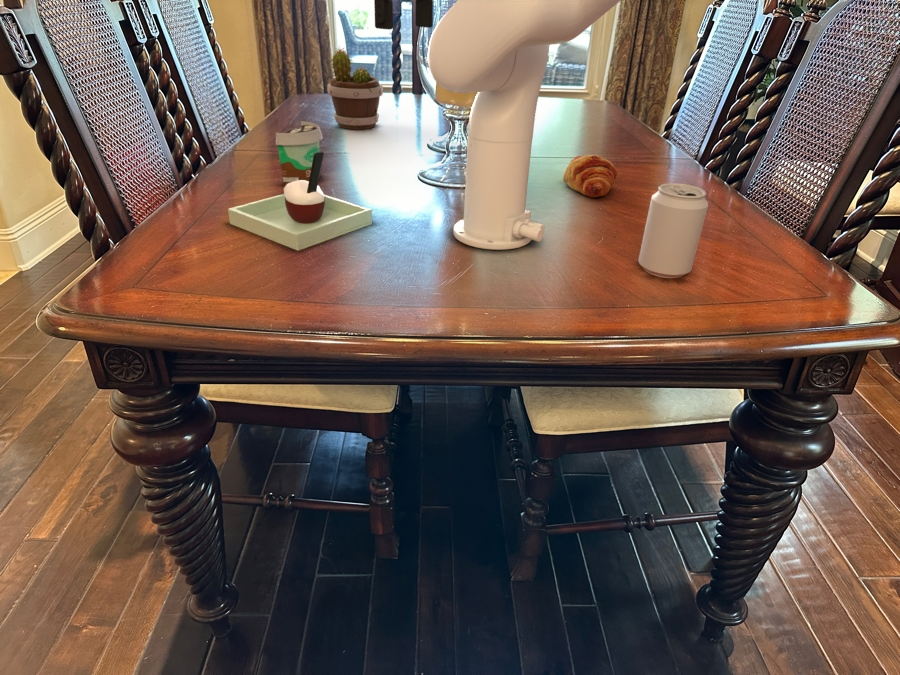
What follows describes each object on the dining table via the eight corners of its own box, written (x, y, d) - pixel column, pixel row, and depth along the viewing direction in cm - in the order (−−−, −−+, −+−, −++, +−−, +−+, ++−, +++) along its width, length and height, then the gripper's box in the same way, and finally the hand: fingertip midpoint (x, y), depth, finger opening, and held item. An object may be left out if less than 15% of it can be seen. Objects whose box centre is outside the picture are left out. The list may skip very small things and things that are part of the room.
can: (660, 283, 84) (680, 199, 78) (626, 263, 90) (642, 182, 84) (702, 276, 87) (724, 193, 81) (666, 256, 93) (684, 178, 87)
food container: (310, 190, 114) (306, 136, 109) (280, 187, 115) (274, 133, 110) (334, 173, 125) (331, 122, 120) (306, 170, 126) (302, 120, 121)
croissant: (564, 187, 134) (551, 154, 130) (608, 168, 131) (596, 133, 128) (581, 218, 115) (566, 180, 112) (632, 195, 113) (618, 156, 109)
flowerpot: (385, 121, 172) (383, 42, 162) (382, 132, 159) (380, 48, 149) (333, 119, 172) (328, 40, 161) (325, 131, 158) (320, 46, 148)
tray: (372, 224, 100) (371, 209, 99) (297, 250, 89) (296, 234, 88) (305, 201, 109) (303, 188, 108) (229, 223, 98) (227, 208, 97)
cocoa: (284, 213, 102) (276, 139, 96) (321, 210, 104) (316, 137, 98) (291, 232, 94) (283, 154, 88) (331, 229, 96) (326, 152, 90)
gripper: (382, -113, 81) (385, 31, 89) (460, -98, 93) (455, 28, 101) (342, -111, 84) (348, 27, 93) (422, -97, 96) (421, 24, 105)
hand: (404, 27), depth 97 cm, fingers open, 9 cm apart
